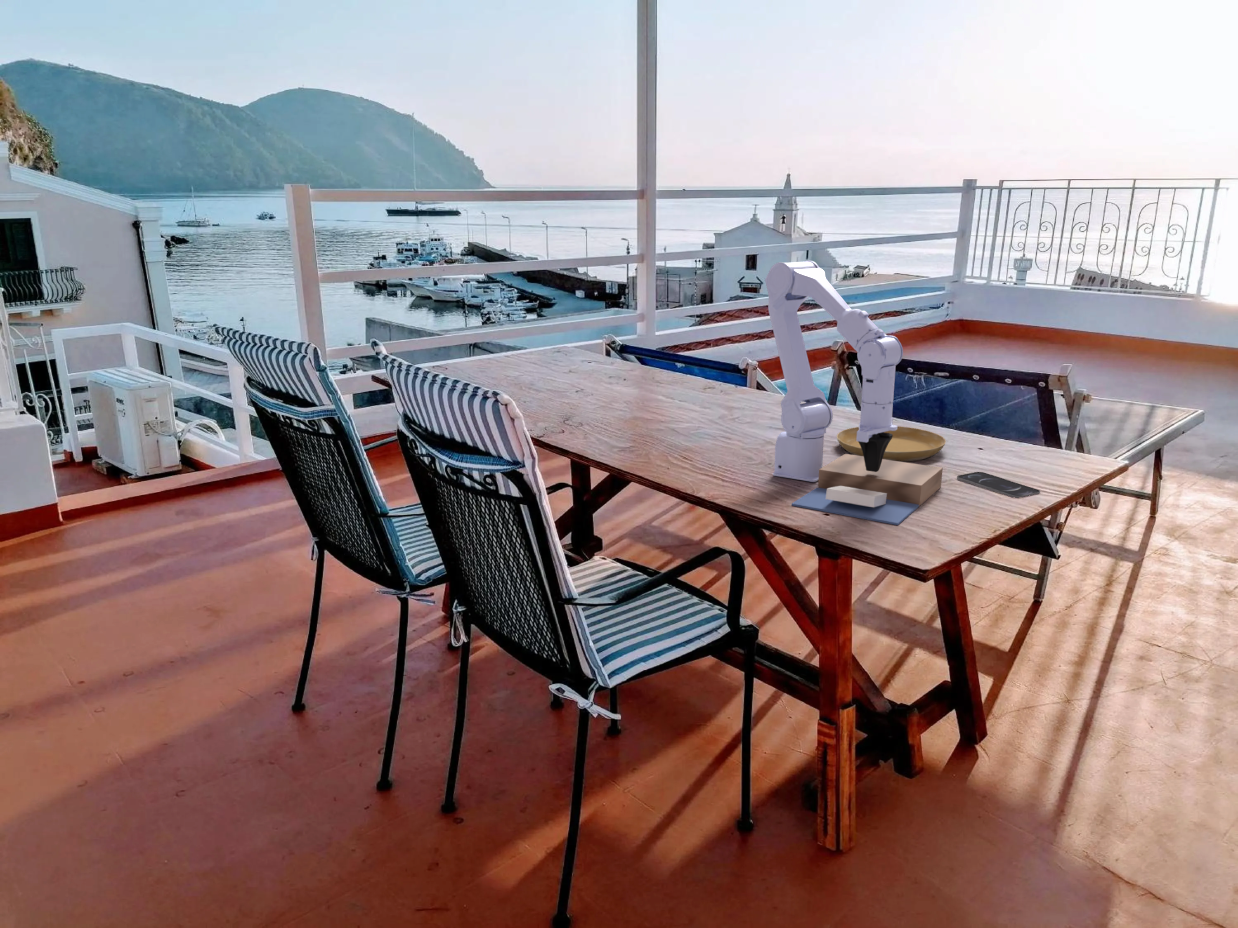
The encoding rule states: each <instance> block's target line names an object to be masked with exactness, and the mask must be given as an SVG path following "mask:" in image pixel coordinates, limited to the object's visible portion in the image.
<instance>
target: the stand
mask: <svg viewBox="0 0 1238 928" xmlns="http://www.w3.org/2000/svg"><path fill="white" fill-rule="evenodd" d="M943 469H944V468H943V467H940V466H932V465H925V464H920V463H919V464H918V463H913V462H907V461H892V460H885V459H882V462H881V466H880V469H879V471H877V472H873V471H867V470H866V467H865V461H864V456H857V455H854V454H851V453H850V454H848V453H845V454H842V455H841V456H839V457H838V458H836V459H834V460H832V461H831V462H829V463H828V464H826V465H824V466H822V468H821V469H819V479H818V480H817V482H818V483H817V487H818V488H824V489H827V488H831V487H837V486H845V487H851V488H857V489H863V490H869V491H875V492H881V493H887V497H886V499H888V500H894V501H900V502H906V503H912V504H918V505H919V507H920V506H921V505H923V504H924V503H925V502H926V501H927V500H929V498H931V497H932V496H933V495H934V494H935V493H936V492H937V491H938V490H939V489H941V487H942V481H943V480H942V479H943Z"/></svg>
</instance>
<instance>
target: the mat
mask: <svg viewBox="0 0 1238 928" xmlns="http://www.w3.org/2000/svg"><path fill="white" fill-rule="evenodd" d="M826 492H827V489H824V488H818V486H817V487H815V488H814V489H812V490H811V491H809V492H807V493H806V494H804V495H803V496H801V497H800V498H798V499H796V500H795V501H793V502H792V503H791V506H793V507H797V508H803V509H808V510H815V511H817V512H818V511H819V512H824V513H829V514H835V515H841V516H846V517H851V518H858V519H862V520H868V521H873V522H877V523H883V524H889V525H894V526H899V525H900V524H901V523H902V522H903V521H905V520H906V519H907V518H908V517H909V516H910V515H911V514H912V513H914V512H915V511H916V510H917V509H918V508H919V507H920V506H919V505H918V504H912V503H906V502H900V501H894V500H888V499H886V504H884V505H880V506H876V507H869V506H863V505H857V504H852V503H846V502H840V501H834V500H829V499H826Z"/></svg>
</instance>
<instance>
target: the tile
mask: <svg viewBox="0 0 1238 928" xmlns="http://www.w3.org/2000/svg"><path fill="white" fill-rule="evenodd" d="M886 497H887V493H881V492H875V491H869V490H863V489H857V488H851V487H845V486H837V487H831V488H827V492H826V499H829V500H834V501H840V502H846V503H852V504H857V505H863V506H869V507H876V506H880V505H884V504H886Z"/></svg>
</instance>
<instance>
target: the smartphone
mask: <svg viewBox="0 0 1238 928" xmlns="http://www.w3.org/2000/svg"><path fill="white" fill-rule="evenodd" d="M956 480H957V481H960V482H963V483H967V484H969V485H971V486H972V485H973V486H976V487H979V488H982V489H985V490H988V491H991V492H993V493H994V492H995V493H998V494H1000V495H1003V494H1004V496H1006V495H1007V496H1006V497H1010V498H1013V497H1015V498H1014V499H1020V498H1019V497H1022V498H1026V497H1025V496H1027V497H1030V496H1029V495H1031V496H1035V495H1034V494H1036V495H1040V494H1041V490H1040V489H1038V488H1034V487H1031V486H1028V485H1024V484H1021V483H1019V482H1015V481H1012V480H1009V479H1006V478H1003V477H1000V476H997V475H993V474H991V473H990V474H989V473H987V472H985V471H984V472H983V471H976V472H975V471H974V472H969V473H968V472H967V473H965V474H964V473H963V474H958V475H957V477H956ZM1039 493H1040V494H1039Z"/></svg>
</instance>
